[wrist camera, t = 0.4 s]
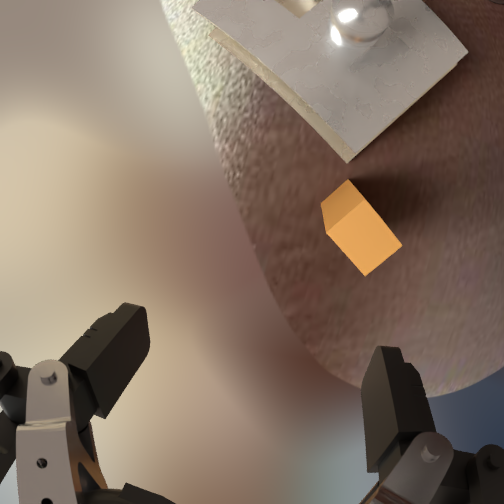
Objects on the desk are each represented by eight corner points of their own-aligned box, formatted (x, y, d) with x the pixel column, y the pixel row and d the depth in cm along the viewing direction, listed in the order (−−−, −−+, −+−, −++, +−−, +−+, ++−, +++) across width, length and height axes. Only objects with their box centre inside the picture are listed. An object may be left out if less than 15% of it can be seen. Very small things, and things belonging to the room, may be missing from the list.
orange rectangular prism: (348, 179, 31) (365, 198, 22) (377, 213, 32) (402, 245, 23) (320, 203, 33) (326, 232, 24) (350, 236, 33) (364, 276, 24)
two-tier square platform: (316, -56, 20) (315, -115, 10) (453, 65, 24) (510, 46, 13) (205, 33, 27) (158, -5, 16) (345, 162, 30) (367, 179, 20)
